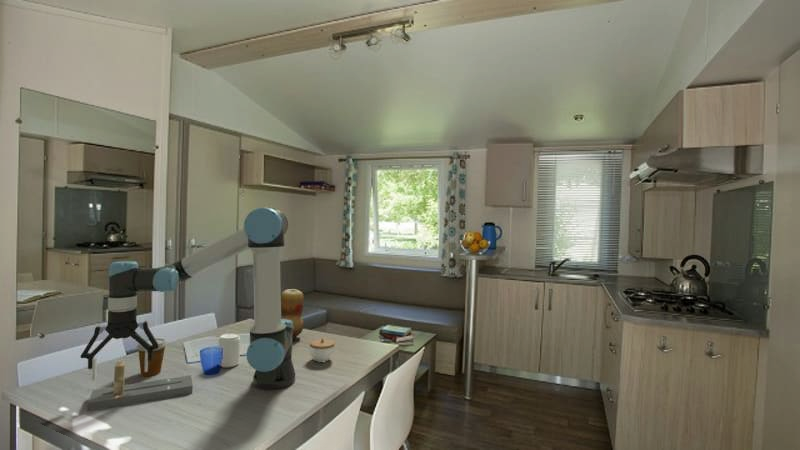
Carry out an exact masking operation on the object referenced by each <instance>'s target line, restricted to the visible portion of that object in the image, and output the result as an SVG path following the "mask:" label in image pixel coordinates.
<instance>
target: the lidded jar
mask: <svg viewBox="0 0 800 450" xmlns="http://www.w3.org/2000/svg"><path fill="white" fill-rule="evenodd" d="M334 350H335V341H334V340H332V339H328V338H317V339H313V340H311V341H310V342H309V353H310V357H311V358H312V359H313V361H314V360H315V361H318V362H317V363H319V362H323V361H327V360H328V361H329V360H330V359H331V358H332V357H333V354H334V352H335V351H334ZM315 361H314V362H315ZM328 361H327V362H328ZM323 363H324V362H323Z"/></svg>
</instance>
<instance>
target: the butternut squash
mask: <svg viewBox="0 0 800 450" xmlns="http://www.w3.org/2000/svg"><path fill="white" fill-rule="evenodd" d="M304 299H305V298H304V294H303V292H302V291H300V290H298V289H295V288H291V289H289V288H288V289H285V290H283V291H282V292H281V319H287V320H291V321H292V322H293V337H292V340H293V339H295V338H296V337H298V336H299V335H300V334H302V332H303V330H304V320H303V316H302V314H303V309H304V302H305V301H304Z"/></svg>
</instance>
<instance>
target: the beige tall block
mask: <svg viewBox="0 0 800 450" xmlns="http://www.w3.org/2000/svg"><path fill="white" fill-rule="evenodd" d="M125 374H126V360H123V361H116V362H115V366H114V378H113V387H114V395H116V394H122V393H123V391H124V385H125V379H126V378H125V376H126V375H125Z"/></svg>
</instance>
